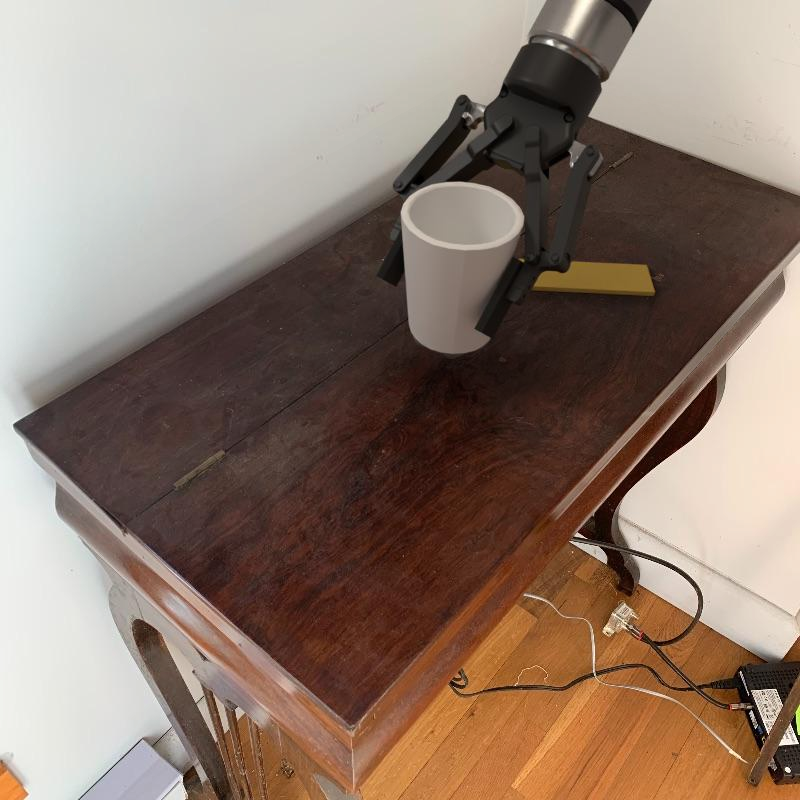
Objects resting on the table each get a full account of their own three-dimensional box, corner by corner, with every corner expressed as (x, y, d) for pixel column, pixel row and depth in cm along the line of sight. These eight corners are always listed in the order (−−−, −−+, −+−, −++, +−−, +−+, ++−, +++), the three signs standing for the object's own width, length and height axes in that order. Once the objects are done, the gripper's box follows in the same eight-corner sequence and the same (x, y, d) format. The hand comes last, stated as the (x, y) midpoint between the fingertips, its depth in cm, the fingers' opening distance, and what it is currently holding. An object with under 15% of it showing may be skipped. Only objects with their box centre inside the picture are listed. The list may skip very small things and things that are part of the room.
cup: (500, 301, 77) (519, 182, 68) (509, 372, 70) (530, 251, 61) (396, 297, 77) (401, 178, 68) (395, 368, 70) (400, 246, 61)
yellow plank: (645, 269, 91) (647, 264, 91) (653, 296, 88) (655, 292, 88) (452, 259, 91) (453, 255, 91) (453, 286, 88) (453, 282, 88)
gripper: (695, 128, 64) (556, 373, 67) (469, 48, 74) (356, 265, 76) (685, 85, 57) (531, 359, 60) (438, 2, 67) (314, 242, 70)
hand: (433, 306), depth 68 cm, fingers closed on cup, 10 cm apart
